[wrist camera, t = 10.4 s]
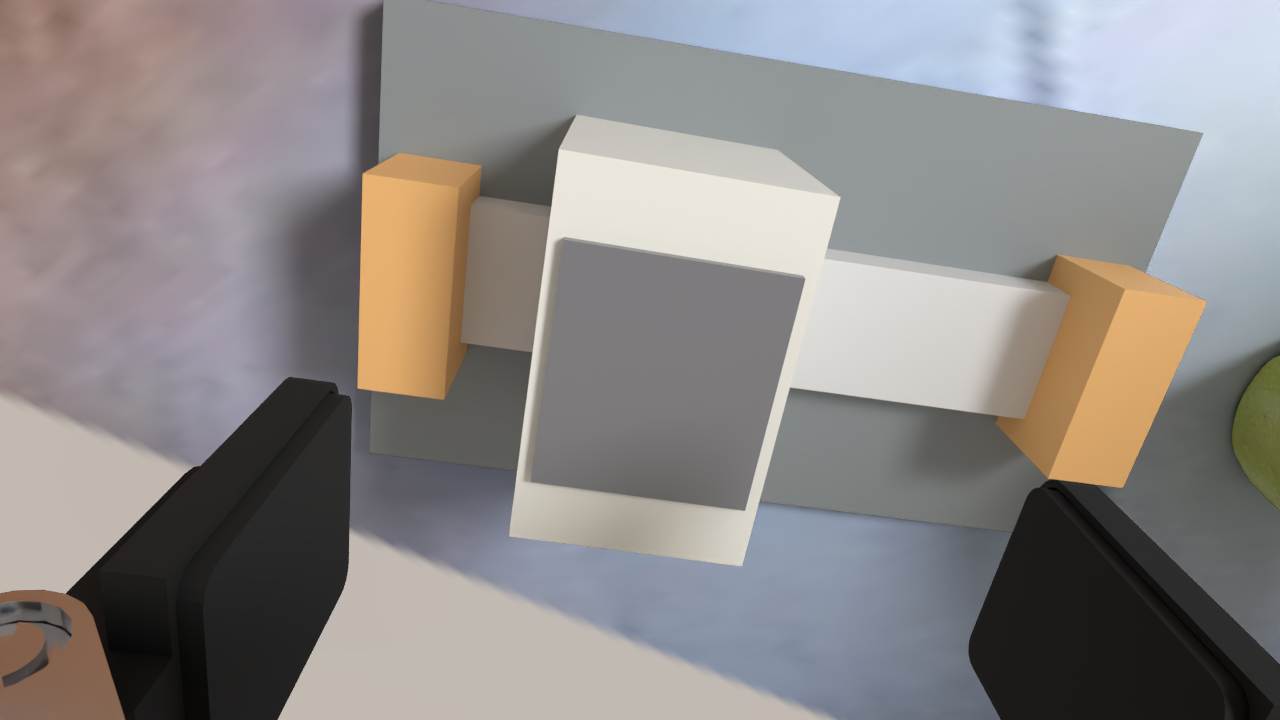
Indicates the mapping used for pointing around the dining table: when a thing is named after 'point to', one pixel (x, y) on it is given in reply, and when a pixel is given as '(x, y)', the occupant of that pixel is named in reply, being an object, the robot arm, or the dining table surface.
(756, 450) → the block
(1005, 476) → the rail board
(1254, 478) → the plant pot
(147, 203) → the dining table surface
